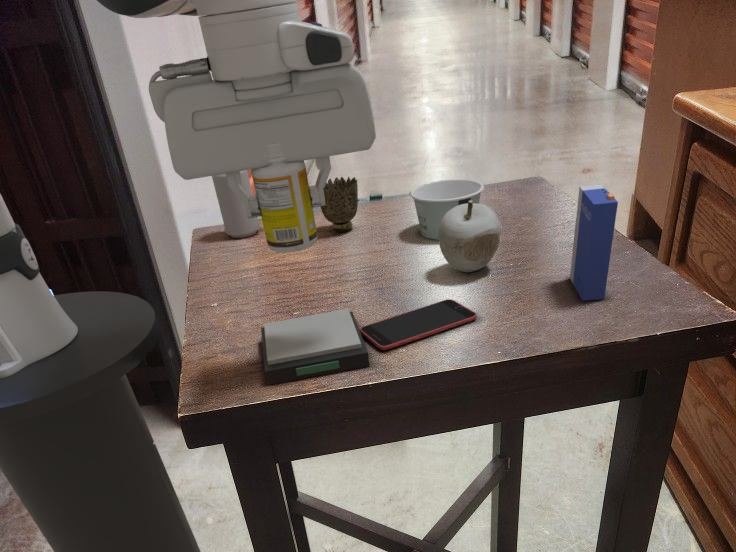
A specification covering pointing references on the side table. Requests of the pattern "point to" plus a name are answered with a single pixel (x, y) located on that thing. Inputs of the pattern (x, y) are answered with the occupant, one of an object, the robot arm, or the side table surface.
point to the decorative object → (469, 236)
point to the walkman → (593, 241)
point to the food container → (442, 201)
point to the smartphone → (417, 324)
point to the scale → (312, 346)
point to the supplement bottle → (285, 203)
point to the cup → (340, 203)
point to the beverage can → (235, 207)
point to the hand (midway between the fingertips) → (286, 210)
